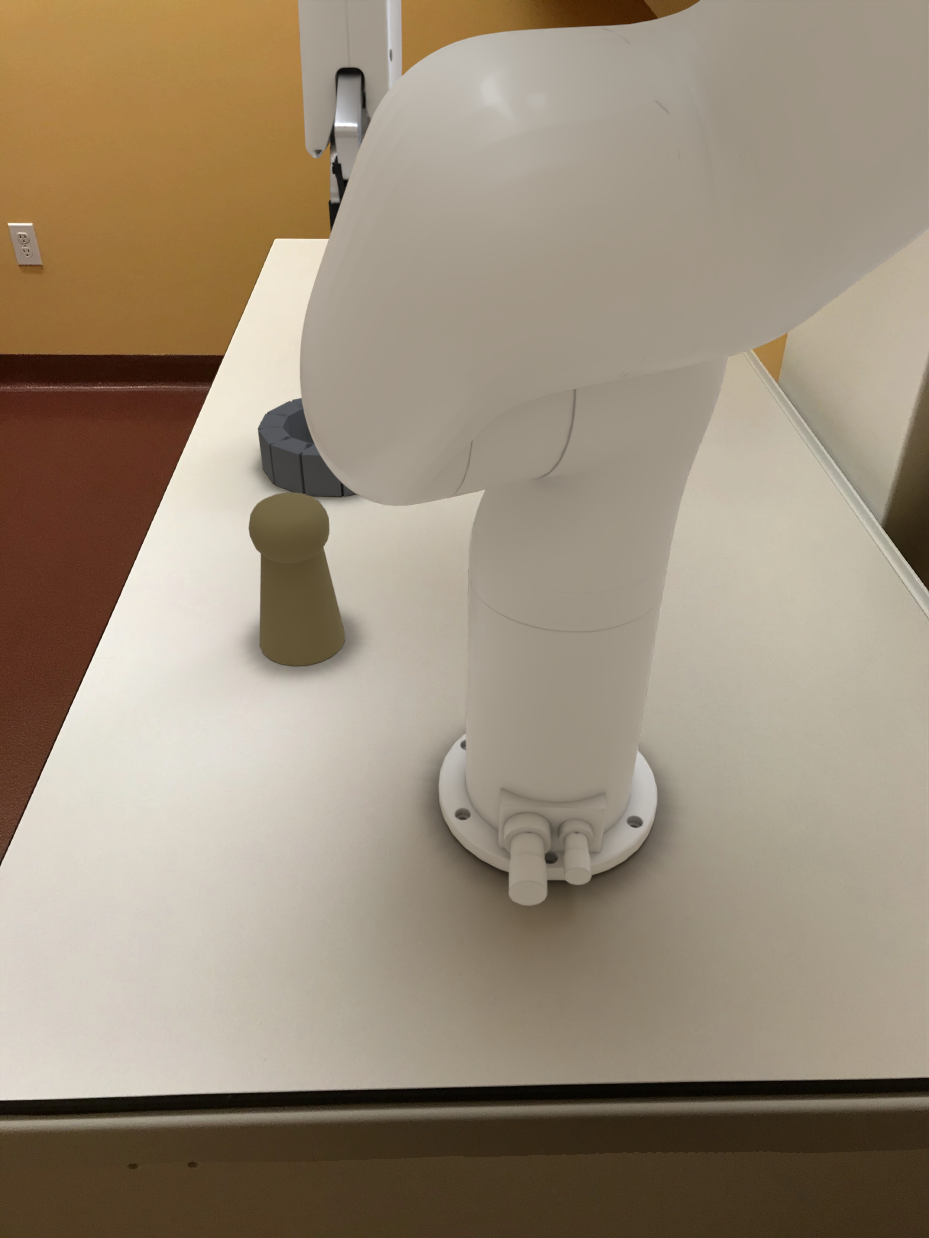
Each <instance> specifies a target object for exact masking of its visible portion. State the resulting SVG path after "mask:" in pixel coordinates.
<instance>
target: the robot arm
mask: <svg viewBox="0 0 929 1238" xmlns="http://www.w3.org/2000/svg"><path fill="white" fill-rule="evenodd" d="M297 7H298V8H297V9H298V30H299V31H298V32H299V49H300V51H299V52H300V68H301V83H302V86H301V87H302V103H303V118H304V119H303V123H304V140H305V141H304V143H305V150H306V152H307V153H308V154H309V155H310V156H311V157H312V158H313V159H320V158H321V157H322V155H323V153H324V152H325V151H326V150H327V148H328V147H329V197H330V199H329V200H328V201H327V203H328V215H329V216H328V217H329V227H330V234H329V237H328V239H327V240H328V241H327V243H326V246H325V250H324V252H323V255H322V258H321V261H320V263H319V267H318V270H317V273H316V276H315V279H314V282H313V285H312V288H311V292H310V295H309V299H308V301H307V306H306V310H305V315H304V320H303V324H302V325H303V326H302V330H301V337H300V338H301V339H300V350H299V385H300V398H302V404H303V409H304V414H305V418H306V421H307V425H308V428H309V431H310V434H311V436H312V439H313V441H314V444H315V446H316V448H317V450H318V452H319V453H320V455H321V457H322V459H323V460H324V462H325V463H326V465H327V466H328V467H329V469H330V470H331V471H332V472H333V474H334V475H335V476H336V477H337V478H338V479H339V480H340V481H341V482H342V483H343V484H344V485H345V486H346V487H347V488H349V489H350V490H351V491H353V492H354V493H356V494H355V495H357V496H359V497H361V498H363V499H365V500H367V501H370V502H372V503H375V504H379V505H382V506H390V507H391V506H392V507H404V506H405V507H407V506H413V505H415V506H416V505H419V504H421V505H422V504H426V503H430V502H436V501H440V500H445V499H451V498H456V497H460V496H464V495H468V494H469V495H470V494H472V493H473V494H474V493H478V492H482V491H483V494H482V496H481V498H480V500H479V503H478V507H477V509H476V512H475V515H474V519H473V522H472V526H471V532H470V538H469V544H468V545H469V546H468V569H467V635H466V636H467V637H466V639H467V640H466V641H467V642H466V710H465V712H466V713H465V718H466V719H465V733H464V734H462V735H461V736H460V737H459V738H458V739H457V740H456V741H455V742H454V743H453V745H451V748H450V749H449V751H447V753H446V755H445V757H444V759H443V762H442V764H441V766H440V770H439V777H438V803H439V807H440V810H441V813H442V816H443V820H444V822H445V823H446V825H447V827H448V828H449V830H450V832H451V834H452V835H453V836H454V837H455V839H456V840H458V842H459V843H460V844H461V845H462V846H463V847H464V848H465V849H466V850H468V851H469V852H470V853H471V854H473V855H474V856H476V858H478V859H479V860H481V861H482V862H485V863H486V864H489V865H490V866H492V867H494V868H496V869H498V870H501V871H502V872H503V871H504V872H506V873H508V897H509V898H510V900H511V901H512V902H514V903H516V904H517V905H520V906H527V907H531V906H536V905H540V904H541V903H542V902H543V901H546V898H547V896H548V881H566V883H568V884H569V885H573V886H581V885H583V886H584V885H586V884H588V883H589V882H590V881H591V879H592V876H594V875H597V874H600V873H603V872H606V871H609V870H611V869H612V868H614V867H616V866H618V865H619V864H621V863H623V862H625V861H626V860H628V858H630V857H631V856H632V855H633V854H634V853H635V852H637V851H638V850H639V849H640V847H641V846H642V845H643V843H644V842H645V841H646V839H647V838H648V836H649V834H650V832H651V829H652V827H653V826H654V822H655V818H656V811H657V808H658V787H657V782H656V779H655V776H654V771H652V768H651V766H650V765H649V763H648V761H647V759H646V758H645V757H644V755H643V754H642V753H641V752H640V750H639V744H640V738H641V732H642V725H643V719H644V713H645V707H646V700H647V693H648V688H649V683H650V676H651V671H652V670H651V669H652V663H653V657H654V652H655V644H656V639H657V631H658V626H659V619H660V613H661V607H662V601H663V595H664V590H665V586H666V585H665V584H666V578H667V573H668V567H669V561H670V555H671V550H672V543H673V538H674V534H675V529H676V528H675V527H676V523H677V519H678V516H679V510H680V508H681V507H680V506H681V502H682V498H683V496H684V492H685V490H686V489H685V488H686V485H687V482H688V480H689V479H688V478H689V476H690V474H691V473H690V472H691V470H692V467H693V464H694V461H695V459H696V456H697V454H698V452H699V449H700V447H701V444H702V442H703V439H704V437H705V434H706V432H707V429H708V427H709V424H710V422H711V420H712V417H713V414H714V411H715V408H716V406H717V404H718V400H719V396H720V394H721V389H722V386H723V382H724V378H725V375H726V370H727V363H728V358H731V357H733V356H736V355H739V354H743V353H747V352H749V351H752V350H754V349H757V348H760V347H763V346H765V345H767V344H769V343H771V342H773V341H775V340H777V339H779V338H781V337H782V336H784V335H786V334H788V333H789V332H791V331H792V330H794V329H795V328H797V327H799V326H800V325H802V324H803V323H805V322H806V321H808V320H809V319H810V318H812V317H813V316H814V315H816V314H817V313H818V312H820V311H821V310H822V309H824V308H825V307H826V306H828V305H829V304H831V303H832V302H833V301H834V300H836V299H837V298H838V297H840V296H841V295H842V294H844V293H845V292H846V291H847V290H849V289H850V288H851V287H853V286H854V285H855V284H857V283H858V282H859V281H861V280H862V279H863V278H865V277H867V276H868V275H869V274H870V273H872V272H873V271H874V270H876V269H877V268H879V267H880V266H882V265H883V264H884V263H886V262H887V261H888V260H889V259H891V258H892V257H894V256H895V255H897V254H898V253H900V252H901V251H903V249H905V248H906V247H907V246H910V244H912V243H913V242H914V241H916V240H917V239H918V238H921V236H923V235H924V234H925V233H927V232H928V231H929V0H699V1H698V2H696V3H694V4H693V5H691V6H690V7H688V8H685V9H683V10H681V11H678V12H676V13H672V14H670V15H669V14H668V15H666V16H663V17H659V18H655V19H652V20H647V21H640V22H636V23H630V24H628V23H627V24H614V25H594V26H592V25H591V26H573V27H571V26H570V27H554V28H553V27H552V28H535V29H519V30H507V31H500V32H493V33H486V34H485V33H484V34H480V35H475V36H472V37H471V36H470V37H467V38H464V39H461V40H458V41H455V42H452V43H450V44H447V45H445V46H443V47H441V48H439V49H437V50H435V51H434V52H432V53H430V54H428V55H427V56H425V57H424V58H423V59H420V60H419V61H417V63H415V64H414V65H413V66H411V67H410V68H408V69H407V71H405V73H404V74H403V34H402V33H403V31H402V30H403V29H402V26H403V25H402V0H297Z"/></svg>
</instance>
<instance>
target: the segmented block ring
mask: <svg viewBox="0 0 929 1238" xmlns="http://www.w3.org/2000/svg"><path fill="white" fill-rule="evenodd" d="M257 434H258V441H259V451H260V458H261V465H262V470H263V471H264V473H265V474H266V476H267V478H269V480H270V482H271V483H272V484H273V485H275V487H276V486H277V487H279V488H282V489H285V490H287V491H289V492H293V493H302V494H305V495H309V496H312V497H339V498H341V497H342V495H343V496H344V497H348V496H352V495H357V494H356V493H354V492H353V491H351V490H350V489H349V488H347V487H346V486H345V485H344V484H343V483H342V482H341V481H340V480H339V479H338V478H337V477H336V476H335V475H334V474H333V472H332V471H331V470H330V469H329V467H328V466H327V465H326V463H325V462H324V460H323V459H322V457H321V455H320V453H319V452H318V450H317V448H316V446H315V444H314V441H313V439H312V436H311V434H310V431H309V428H308V425H307V421H306V418H305V414H304V409H303V404H302V397H299V398H295V399H291V400H288V401H285V403H283V404H281V405H279V406H276V407H275V408H272V409H270V410H269V411H267V412H266V413H265V414H264V415H263V417H262V419H261V421H260V423H259V425H258V427H257Z"/></svg>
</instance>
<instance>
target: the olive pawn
mask: <svg viewBox="0 0 929 1238" xmlns="http://www.w3.org/2000/svg"><path fill="white" fill-rule="evenodd" d="M248 533H249V538H250V540H251V542H252V544H253V546H254V549H255V550H256V551H257V552H258V553H260V575H259V577H260V578H259V580H260V582H259V584H260V585H259V586H260V587H259V589H260V590H259V647H260V650H261V652H262V654H263V655H264V656H266V658H268V659H269V660H270V661H273V662H274V663H277V664H280V665H284V666H292V667H297V666H298V667H300V666H301V667H302V666H310V665H314V664H318V663H322V662H324V661H326V660H328V659H330V658H332V657H334V656H335V655H336V654H337V653H338V652H339V651H340V650H342V648H343V646H344V644H345V641H346V631H345V628H344V623H343V619H342V616H341V615H342V614H341V612H340V607H339V603H338V599H337V596H336V592H335V587H334V584H333V580H332V576H331V575H332V574H331V571H330V567H329V564H328V559H327V556H326V551H325V548H324V547H325V546H326V544H327V543H328V541H329V537H330V517H329V515H328V512H327V510H326V508H325V507H324V505H323V504H322V503H321V502H320V501H319V500H318V498H316V497H315V496H309V495H305V494H302V493H296V492H293V491H290V492H281V493H276V494H272V495H270V496H268V497H265V498H264V499H262V500H261V501H259V502H257V504H256V505H255V506H254V507H253V509H252V510H251V513H250V515H249V522H248Z"/></svg>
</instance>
